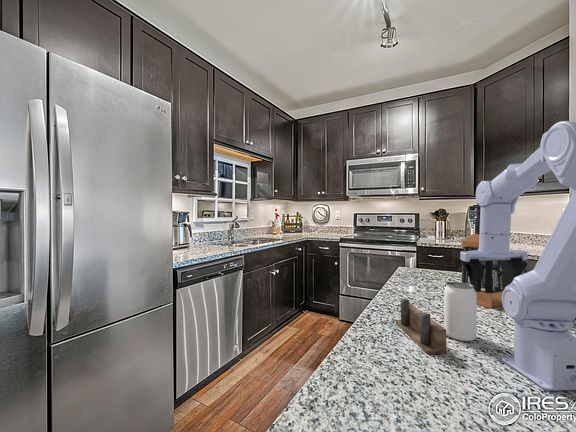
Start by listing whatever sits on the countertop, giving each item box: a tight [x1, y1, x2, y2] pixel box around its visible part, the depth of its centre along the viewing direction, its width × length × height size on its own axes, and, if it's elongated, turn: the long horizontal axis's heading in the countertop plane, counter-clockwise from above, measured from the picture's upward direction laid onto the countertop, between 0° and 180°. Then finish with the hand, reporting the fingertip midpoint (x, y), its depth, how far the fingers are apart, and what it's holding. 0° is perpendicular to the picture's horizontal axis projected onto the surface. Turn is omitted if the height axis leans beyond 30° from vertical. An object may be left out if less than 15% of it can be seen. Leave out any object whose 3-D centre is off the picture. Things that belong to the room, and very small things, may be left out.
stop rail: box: [395, 298, 447, 355], centre depth 65 cm, size 16×4×7 cm, turn 1°
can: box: [443, 281, 478, 342], centre depth 66 cm, size 6×6×12 cm
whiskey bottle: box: [460, 202, 504, 309], centre depth 90 cm, size 10×10×32 cm
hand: (491, 290), depth 66 cm, fingers open, 7 cm apart
